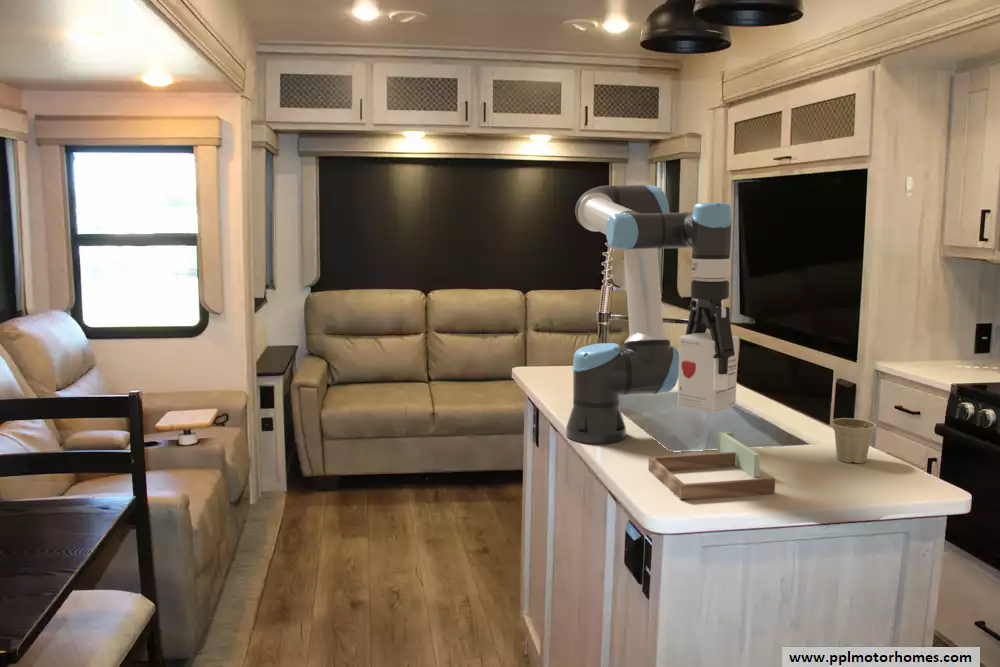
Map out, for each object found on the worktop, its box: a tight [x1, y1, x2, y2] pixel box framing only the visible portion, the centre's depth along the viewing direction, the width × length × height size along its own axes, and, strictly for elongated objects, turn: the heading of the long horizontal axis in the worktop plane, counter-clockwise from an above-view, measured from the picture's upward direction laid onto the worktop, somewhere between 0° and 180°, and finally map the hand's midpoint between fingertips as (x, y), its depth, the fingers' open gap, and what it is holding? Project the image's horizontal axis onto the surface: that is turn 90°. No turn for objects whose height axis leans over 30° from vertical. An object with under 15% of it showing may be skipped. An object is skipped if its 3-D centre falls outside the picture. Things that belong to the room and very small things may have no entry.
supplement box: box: [677, 332, 740, 414], centre depth 167 cm, size 9×9×15 cm
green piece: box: [716, 430, 761, 479], centre depth 181 cm, size 18×3×5 cm, turn 9°
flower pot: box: [830, 417, 877, 464], centre depth 183 cm, size 9×9×9 cm
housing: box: [648, 452, 776, 500], centre depth 170 cm, size 19×20×3 cm
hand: (707, 383), depth 167 cm, fingers closed on supplement box, 12 cm apart
